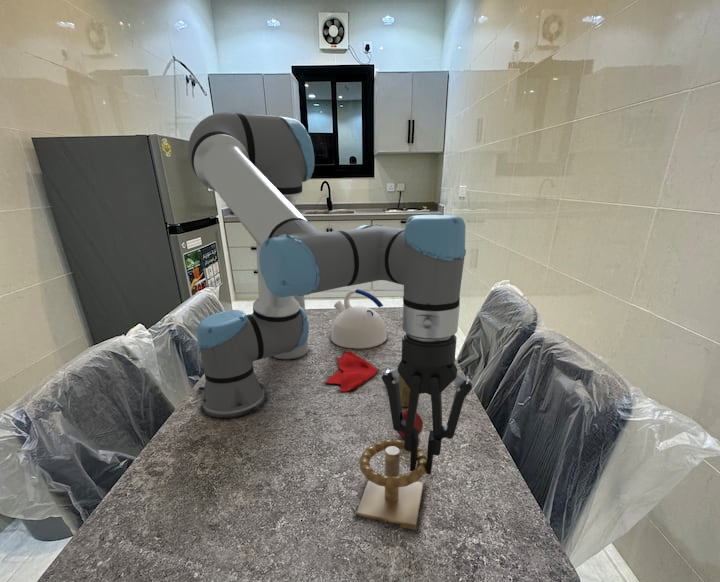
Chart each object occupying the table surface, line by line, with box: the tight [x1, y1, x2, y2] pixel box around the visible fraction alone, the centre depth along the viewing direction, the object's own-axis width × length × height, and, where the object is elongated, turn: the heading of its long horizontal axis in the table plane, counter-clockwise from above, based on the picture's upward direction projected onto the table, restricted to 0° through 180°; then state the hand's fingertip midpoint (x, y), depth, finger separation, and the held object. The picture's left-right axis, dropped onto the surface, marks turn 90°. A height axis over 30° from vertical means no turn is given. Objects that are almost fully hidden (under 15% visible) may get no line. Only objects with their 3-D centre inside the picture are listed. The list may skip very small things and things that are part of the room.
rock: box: [398, 375, 411, 408], centre depth 99 cm, size 11×9×10 cm
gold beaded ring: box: [359, 439, 427, 488], centre depth 64 cm, size 11×11×2 cm
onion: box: [396, 408, 424, 439], centre depth 83 cm, size 6×6×8 cm
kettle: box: [330, 288, 388, 350], centre depth 136 cm, size 20×21×18 cm
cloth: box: [326, 350, 378, 393], centre depth 115 cm, size 26×14×2 cm, turn 171°
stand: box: [355, 446, 424, 531], centre depth 65 cm, size 10×10×11 cm
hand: (421, 466), depth 63 cm, fingers closed on gold beaded ring, 2 cm apart
